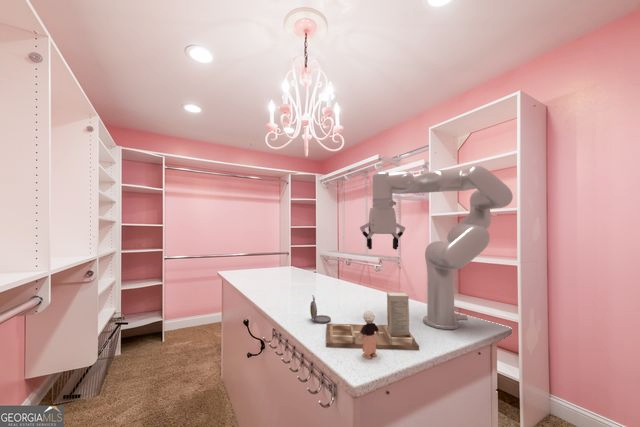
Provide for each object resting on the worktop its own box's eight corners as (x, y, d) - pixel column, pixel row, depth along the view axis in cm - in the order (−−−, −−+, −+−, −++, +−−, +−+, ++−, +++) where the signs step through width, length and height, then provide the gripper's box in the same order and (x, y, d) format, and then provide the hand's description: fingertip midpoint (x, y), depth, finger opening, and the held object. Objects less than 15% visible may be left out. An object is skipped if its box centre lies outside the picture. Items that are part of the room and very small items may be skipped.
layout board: (403, 329, 95) (403, 313, 96) (419, 350, 79) (419, 330, 80) (326, 326, 96) (326, 311, 96) (326, 347, 80) (326, 327, 80)
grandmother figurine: (371, 349, 79) (371, 306, 80) (381, 354, 76) (382, 309, 77) (354, 357, 74) (355, 312, 74) (365, 363, 71) (366, 315, 72)
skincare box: (406, 330, 86) (406, 292, 87) (409, 335, 82) (409, 295, 83) (386, 329, 87) (386, 291, 88) (388, 334, 83) (388, 294, 83)
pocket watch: (334, 320, 103) (334, 294, 103) (320, 326, 96) (320, 298, 97) (318, 315, 108) (318, 290, 109) (303, 321, 102) (304, 294, 102)
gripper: (401, 205, 106) (401, 248, 105) (358, 205, 105) (358, 248, 104) (408, 204, 98) (408, 250, 97) (362, 203, 98) (361, 249, 97)
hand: (382, 249), depth 101 cm, fingers open, 9 cm apart
